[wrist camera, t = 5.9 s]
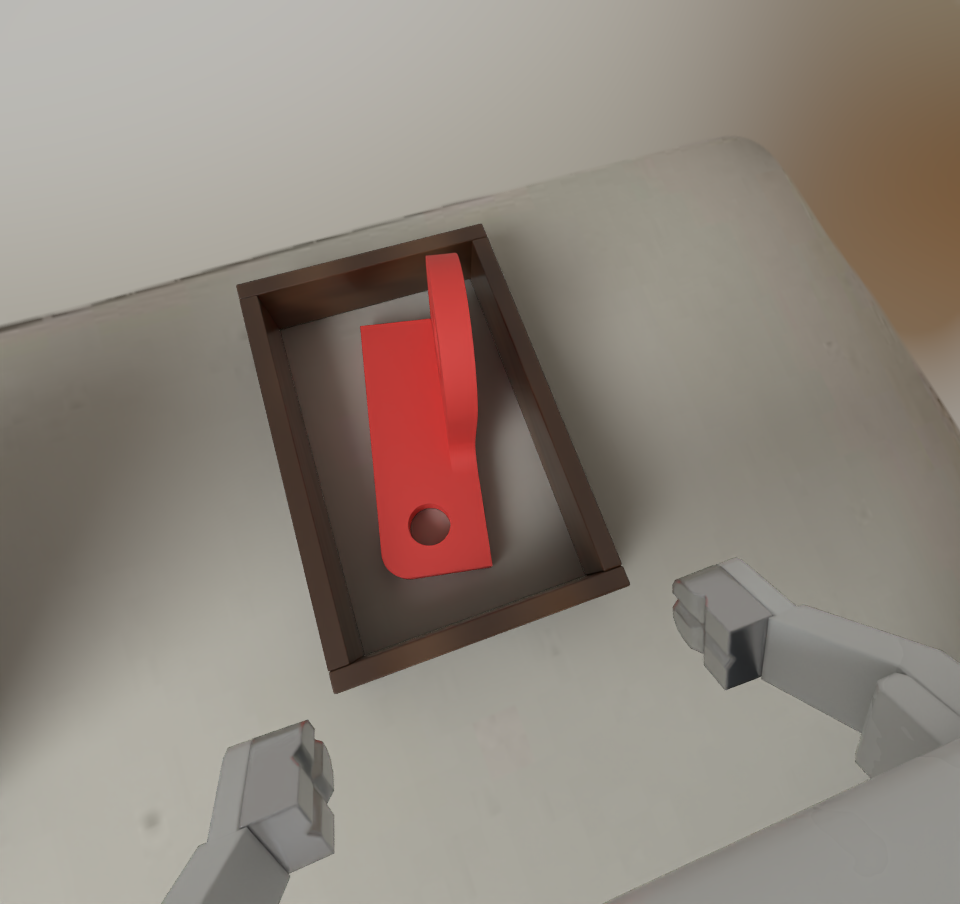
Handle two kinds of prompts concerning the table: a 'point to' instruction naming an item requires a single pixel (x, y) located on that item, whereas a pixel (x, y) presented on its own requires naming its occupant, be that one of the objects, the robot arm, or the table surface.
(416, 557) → the bracket
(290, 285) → the open rectangular wooden frame
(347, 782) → the table surface
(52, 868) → the table surface
